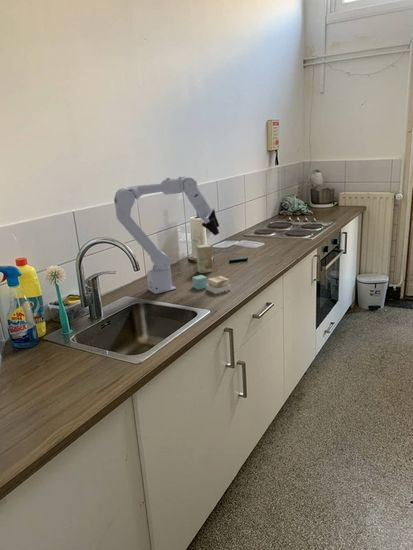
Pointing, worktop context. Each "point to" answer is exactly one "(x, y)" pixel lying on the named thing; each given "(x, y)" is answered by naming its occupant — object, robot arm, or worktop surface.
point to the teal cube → (199, 282)
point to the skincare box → (204, 258)
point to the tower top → (218, 282)
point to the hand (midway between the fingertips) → (217, 230)
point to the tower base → (217, 289)
